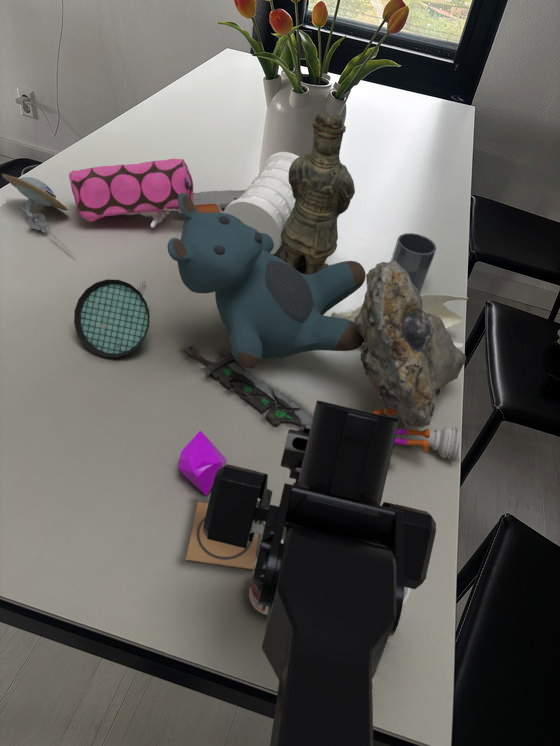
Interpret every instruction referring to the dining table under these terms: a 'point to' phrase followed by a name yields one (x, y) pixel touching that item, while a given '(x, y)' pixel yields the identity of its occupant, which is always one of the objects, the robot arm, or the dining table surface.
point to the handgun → (210, 202)
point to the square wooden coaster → (217, 546)
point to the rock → (404, 345)
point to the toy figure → (407, 432)
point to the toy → (36, 200)
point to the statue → (317, 198)
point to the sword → (252, 389)
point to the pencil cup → (414, 256)
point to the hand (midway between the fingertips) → (315, 507)
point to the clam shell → (429, 305)
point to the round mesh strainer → (112, 318)
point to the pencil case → (130, 188)
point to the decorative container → (267, 199)
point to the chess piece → (439, 440)
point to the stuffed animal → (263, 289)
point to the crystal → (201, 462)
